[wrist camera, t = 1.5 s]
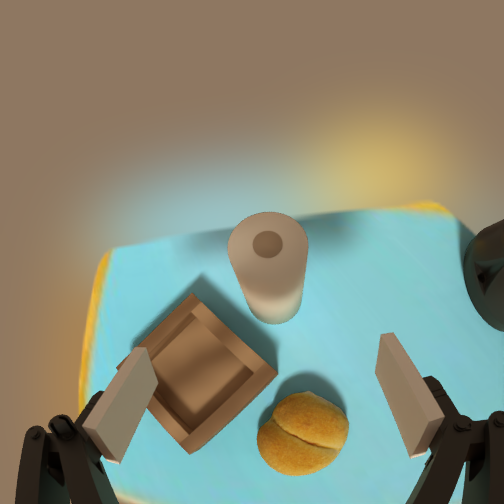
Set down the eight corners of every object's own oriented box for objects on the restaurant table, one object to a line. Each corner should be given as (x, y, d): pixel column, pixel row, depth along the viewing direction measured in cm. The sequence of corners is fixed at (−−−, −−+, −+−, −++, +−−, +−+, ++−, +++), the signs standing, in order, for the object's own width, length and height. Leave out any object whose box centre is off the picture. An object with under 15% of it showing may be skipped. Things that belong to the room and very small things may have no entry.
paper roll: (312, 295, 32) (324, 239, 21) (276, 335, 30) (270, 298, 19) (272, 264, 34) (264, 198, 23) (236, 300, 32) (210, 247, 22)
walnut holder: (278, 374, 28) (277, 372, 25) (198, 449, 25) (189, 454, 22) (200, 302, 33) (192, 292, 30) (130, 371, 29) (115, 367, 27)
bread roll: (244, 449, 24) (239, 456, 21) (293, 381, 28) (294, 379, 24) (311, 485, 22) (315, 496, 18) (359, 416, 25) (369, 419, 21)
